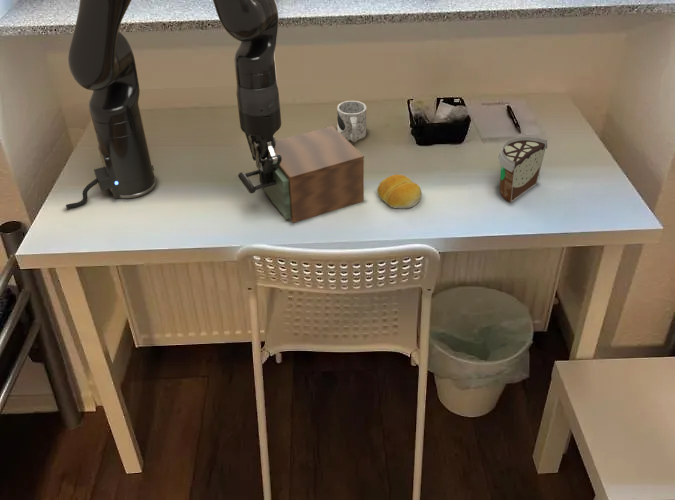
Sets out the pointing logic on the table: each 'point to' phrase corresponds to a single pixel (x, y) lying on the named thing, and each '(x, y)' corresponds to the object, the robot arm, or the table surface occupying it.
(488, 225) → the table surface
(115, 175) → the robot arm
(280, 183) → the drawer
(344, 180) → the cabinet
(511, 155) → the food container
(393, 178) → the bread roll
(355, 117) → the mug
